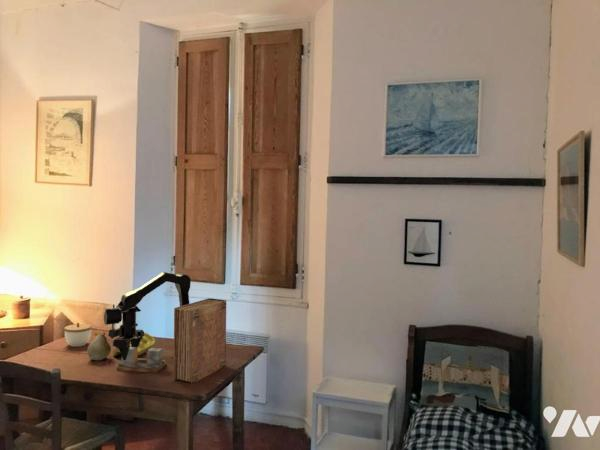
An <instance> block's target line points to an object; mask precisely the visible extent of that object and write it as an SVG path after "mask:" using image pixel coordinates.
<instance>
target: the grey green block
mask: <svg viewBox="0 0 600 450" xmlns="http://www.w3.org/2000/svg"><path fill="white" fill-rule="evenodd" d="M138 359H139V358H138V349H137V347H130V348H129V351H128V355H127V358H126V360H123V358H122V357H121V363H134V364H135V363H137V361H138Z"/></svg>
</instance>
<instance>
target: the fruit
mask: <svg viewBox="0 0 600 450" xmlns="http://www.w3.org/2000/svg"><path fill="white" fill-rule="evenodd" d="M105 334H106V332H104V331H103V334H102V333H99V334H97V335H96V336H95V338H93V340H92V341H91V342H90V343H89V344H88V346H87V352H86V353H87V355H88V357H89V358H90V359H91V360H94V361H102V360H105V359H107V357H108V356H109V355H110V353H111V350H112V348H111V345H110V343H109V341H108V340H107V337H106V336H105Z"/></svg>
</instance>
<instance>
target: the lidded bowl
mask: <svg viewBox="0 0 600 450" xmlns="http://www.w3.org/2000/svg"><path fill="white" fill-rule="evenodd" d="M63 329H64V339H65V341H66V342H67V344H68V345H70V347H78V348H79V347H82V346H85V345H87V343H88V342H89V341H90V339H91V336H92V325H91V324H88V323H80V322H76V323H75V324H69V325H66V326H64V328H63Z"/></svg>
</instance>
